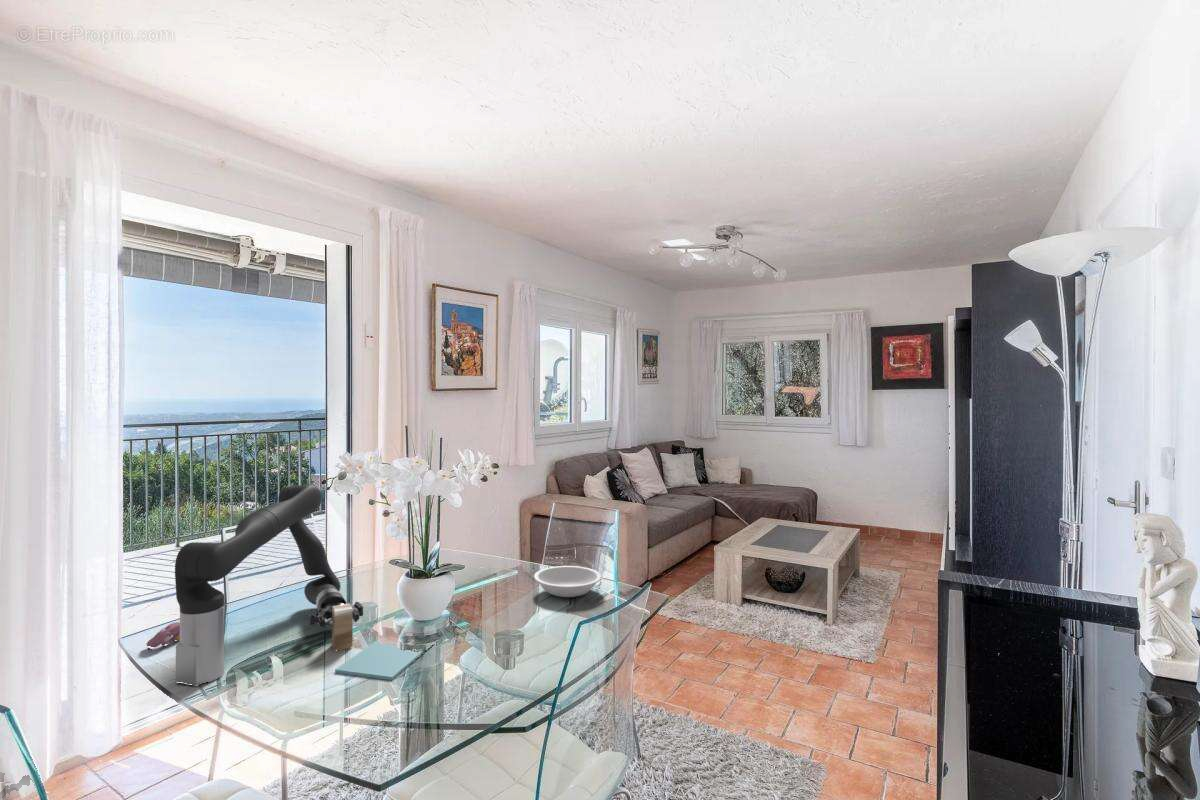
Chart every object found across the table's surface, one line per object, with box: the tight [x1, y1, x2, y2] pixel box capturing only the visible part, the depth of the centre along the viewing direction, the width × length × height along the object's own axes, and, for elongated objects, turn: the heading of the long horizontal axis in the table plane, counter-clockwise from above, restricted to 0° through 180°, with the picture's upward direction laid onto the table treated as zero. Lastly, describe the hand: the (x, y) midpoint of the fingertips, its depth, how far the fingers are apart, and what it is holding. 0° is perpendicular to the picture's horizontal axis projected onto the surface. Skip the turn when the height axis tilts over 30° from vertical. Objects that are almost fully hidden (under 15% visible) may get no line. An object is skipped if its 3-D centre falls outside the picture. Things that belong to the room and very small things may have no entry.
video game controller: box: [145, 621, 180, 648], centre depth 168 cm, size 10×5×7 cm, turn 169°
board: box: [334, 640, 423, 681], centre depth 162 cm, size 22×16×1 cm
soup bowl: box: [533, 565, 602, 598], centre depth 214 cm, size 24×24×7 cm
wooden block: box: [331, 603, 354, 652], centre depth 168 cm, size 4×4×11 cm
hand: (340, 621), depth 170 cm, fingers open, 8 cm apart
